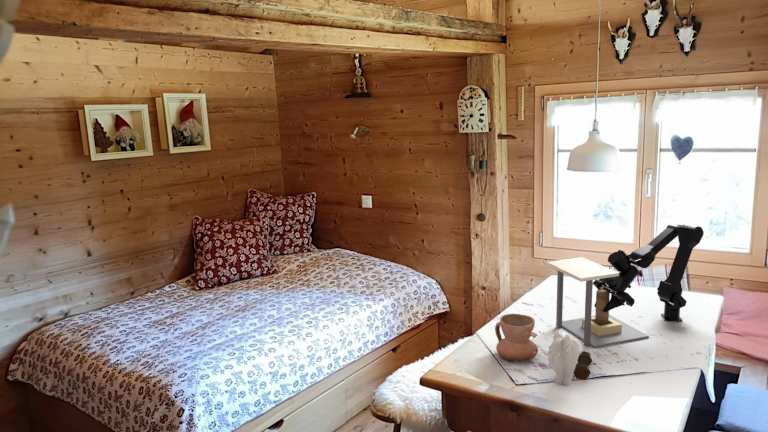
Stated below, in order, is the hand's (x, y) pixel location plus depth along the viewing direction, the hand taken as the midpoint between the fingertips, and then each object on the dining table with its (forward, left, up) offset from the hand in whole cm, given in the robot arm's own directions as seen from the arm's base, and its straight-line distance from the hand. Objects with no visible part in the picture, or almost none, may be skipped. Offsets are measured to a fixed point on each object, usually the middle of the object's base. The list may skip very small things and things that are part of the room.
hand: (599, 309), depth 224 cm
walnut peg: (-1, +1, -7) cm, 7 cm away
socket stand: (+1, -2, -9) cm, 9 cm away
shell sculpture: (+42, -19, -9) cm, 47 cm away
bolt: (+33, -11, -9) cm, 36 cm away
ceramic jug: (+24, -33, -9) cm, 42 cm away
